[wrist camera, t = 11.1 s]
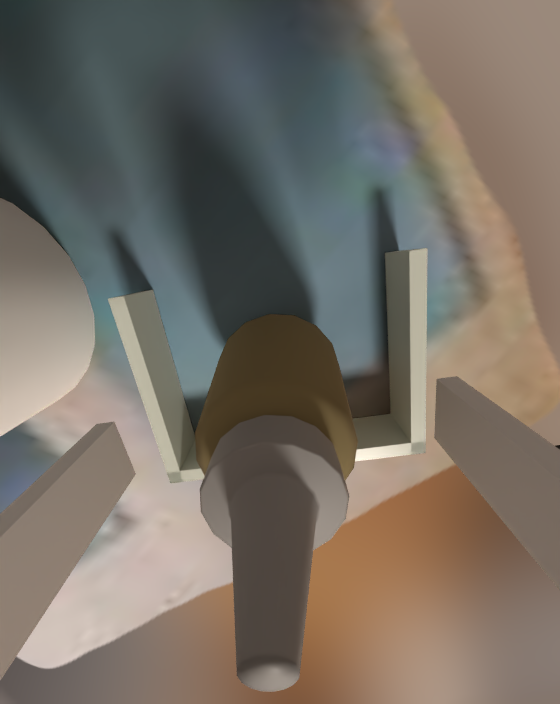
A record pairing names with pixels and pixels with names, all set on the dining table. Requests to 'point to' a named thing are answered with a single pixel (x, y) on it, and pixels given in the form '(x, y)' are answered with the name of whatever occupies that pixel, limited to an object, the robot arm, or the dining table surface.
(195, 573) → the dining table surface
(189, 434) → the cream u-shaped frame
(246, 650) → the squeeze bottle
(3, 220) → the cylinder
